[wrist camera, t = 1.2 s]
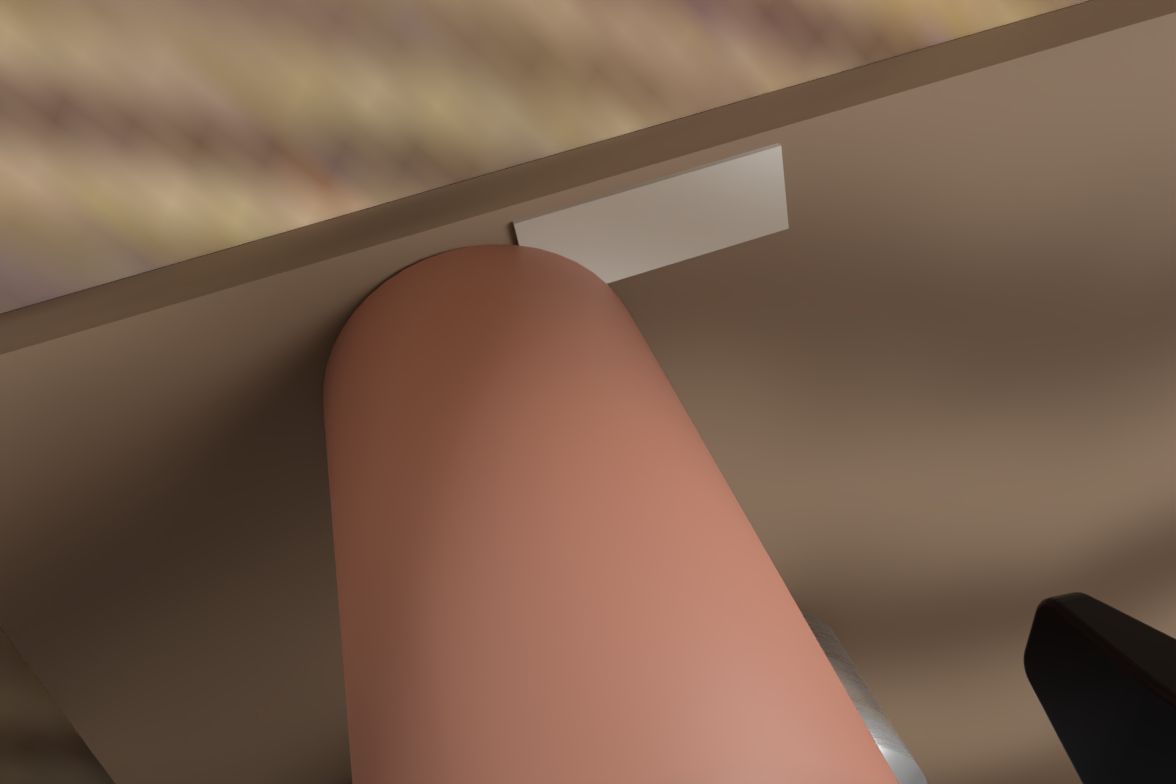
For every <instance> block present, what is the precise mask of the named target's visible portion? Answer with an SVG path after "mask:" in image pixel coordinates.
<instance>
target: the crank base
mask: <svg viewBox="0 0 1176 784" xmlns="http://www.w3.org/2000/svg"><path fill="white" fill-rule="evenodd" d="M491 244H499V245H519V246H526V247H533V248H538V249H542V250H545V251H549V252H553V253H556V254H559V255H561V256H563V257H566V258H568V259H570V260H573V261H575V262H577V263H579V264H580V265H582V266H583V267H585V268H587V269H588V270H590V271H592V272H593V273H594V274H596V275H597V276H598V277H599V278H600V279H602V280H603V281H604V282H605V283H607V284H608V285H609V287H610V288H611V289H612V290H613V291H614V292H615V293H616V294H617V295H618V297H619V298H620V299H621V301H622V302H623V304H624V305H625V307H626V308H627V310H628V311H629V313H630V315H631V316H632V318H633V320H634V322H635V323H636V325H637V327H638V329H639V330H640V332H641V334H642V336H643V337H644V339H645V341H646V343H647V344H648V346H649V348H650V350H651V351H652V353H653V355H654V357H655V358H656V360H657V362H658V364H659V365H660V367H661V369H662V371H663V372H664V374H665V376H666V378H667V379H668V381H669V383H670V385H671V386H672V388H673V390H674V391H675V393H676V395H677V397H678V398H679V400H680V402H681V404H682V405H683V407H684V409H685V411H686V412H687V414H688V416H689V418H690V419H691V421H692V423H693V425H694V426H695V428H696V430H697V432H698V433H699V435H700V437H701V439H702V440H703V442H704V444H705V446H706V447H707V449H708V451H709V453H710V454H711V456H712V458H713V460H714V461H715V463H716V465H717V466H718V468H719V470H720V472H721V473H722V475H723V477H724V479H725V480H726V482H727V484H728V486H729V487H730V489H731V491H732V493H733V494H734V496H735V498H736V500H737V501H738V503H739V505H740V507H741V508H742V510H743V512H744V514H745V515H746V517H747V519H748V521H749V522H750V524H751V526H752V528H753V529H754V531H755V533H756V534H757V536H758V538H759V540H760V541H761V543H762V545H763V547H764V548H765V550H766V552H767V554H768V555H769V557H770V559H771V561H772V562H773V564H774V566H775V568H776V569H777V571H778V573H779V575H780V576H781V578H782V580H783V582H784V583H785V585H786V587H787V589H788V590H789V592H790V594H791V596H792V597H793V599H794V601H795V603H796V604H797V606H798V608H799V609H800V611H802V612H806V613H808V614H811V615H813V616H815V617H817V618H818V619H820V620H821V621H823V622H824V623H826V624H827V625H828V626H829V627H830V628H831V629H832V631H833V632H834V634H835V635H836V637H837V638H838V640H839V641H840V643H841V645H842V646H843V648H844V649H845V651H846V653H847V654H848V656H849V657H850V659H851V660H852V662H853V664H854V665H855V667H856V668H857V670H858V671H859V673H860V675H861V676H862V678H863V679H864V681H865V682H866V684H867V686H868V687H869V689H870V690H871V692H872V694H873V695H874V697H875V698H876V700H877V701H878V703H879V705H880V706H881V708H882V709H883V711H884V712H885V714H886V716H887V717H888V719H889V720H890V722H891V723H892V725H893V727H894V728H895V730H896V731H897V733H898V735H899V736H900V738H901V739H902V741H903V742H904V744H905V746H906V747H907V749H908V750H909V752H910V753H911V755H912V757H913V758H914V760H915V761H916V763H917V765H918V766H919V768H920V769H921V771H922V772H923V774H924V776H925V778H926V781H927V784H1082V782H1081V780H1080V778H1079V776H1078V774H1077V772H1076V770H1075V769H1074V767H1073V765H1072V763H1071V761H1070V759H1069V757H1068V755H1067V753H1066V751H1065V750H1064V748H1063V746H1062V744H1061V742H1060V740H1059V738H1058V736H1057V734H1056V732H1055V731H1054V729H1053V727H1052V725H1051V723H1050V721H1049V719H1048V717H1047V715H1046V713H1045V711H1044V710H1043V708H1042V706H1041V704H1040V702H1039V700H1038V698H1037V696H1036V694H1035V692H1034V691H1033V689H1032V687H1031V685H1030V683H1029V681H1028V678H1027V676H1026V673H1025V669H1024V651H1025V648H1026V644H1027V640H1028V637H1029V633H1030V630H1031V626H1032V622H1033V619H1034V615H1035V612H1036V609H1037V606H1038V605H1039V603H1040V602H1041V601H1042V600H1043V599H1046V598H1049V597H1053V596H1058V595H1062V594H1067V593H1072V592H1081V593H1085V594H1087V595H1090V596H1092V597H1094V598H1096V599H1098V600H1100V601H1102V602H1104V603H1106V604H1108V605H1110V606H1112V607H1114V608H1116V609H1118V610H1120V611H1121V612H1123V613H1125V614H1127V615H1129V616H1131V617H1133V618H1135V619H1137V620H1139V621H1141V622H1143V623H1145V624H1147V625H1149V626H1151V627H1153V628H1155V629H1157V630H1159V631H1161V632H1163V633H1165V634H1167V635H1169V636H1171V637H1173V638H1175V639H1176V0H1091V1H1088V2H1085V3H1081V4H1078V5H1074V6H1071V7H1067V8H1064V9H1060V10H1057V11H1053V12H1050V13H1046V14H1043V15H1039V16H1036V17H1032V18H1029V19H1025V20H1022V21H1018V22H1015V23H1012V24H1008V25H1005V26H1001V27H998V28H994V29H991V30H987V31H984V32H980V33H977V34H973V35H970V36H966V37H963V38H959V39H956V40H952V41H949V42H945V43H942V44H938V45H935V46H932V47H928V48H925V49H921V50H918V51H914V52H911V53H907V54H904V55H900V56H897V57H893V58H890V59H886V60H883V61H879V62H876V63H872V64H869V65H865V66H862V67H859V68H855V69H852V70H848V71H845V72H841V73H838V74H834V75H831V76H827V77H824V78H820V79H817V80H813V81H810V82H806V83H803V84H799V85H796V86H792V87H789V88H785V89H782V90H779V91H775V92H772V93H768V94H765V95H761V96H758V97H754V98H751V99H747V100H744V101H740V102H737V103H733V104H730V105H726V106H723V107H719V108H716V109H712V110H709V111H706V112H702V113H699V114H695V115H692V116H688V117H685V118H681V119H678V120H674V121H671V122H667V123H664V124H660V125H657V126H653V127H650V128H646V129H643V130H639V131H636V132H633V133H629V134H626V135H622V136H619V137H615V138H612V139H608V140H605V141H601V142H598V143H594V144H591V145H587V146H584V147H580V148H577V149H573V150H570V151H566V152H563V153H559V154H556V155H553V156H549V157H546V158H542V159H539V160H535V161H532V162H528V163H525V164H521V165H518V166H514V167H511V168H507V169H504V170H500V171H497V172H493V173H490V174H486V175H483V176H480V177H476V178H473V179H469V180H466V181H462V182H459V183H455V184H452V185H448V186H445V187H441V188H438V189H434V190H431V191H427V192H424V193H420V194H417V195H413V196H410V197H407V198H403V199H400V200H396V201H393V202H389V203H386V204H382V205H379V206H375V207H372V208H368V209H365V210H361V211H358V212H354V213H351V214H347V215H344V216H340V217H337V218H333V219H330V220H327V221H323V222H320V223H316V224H313V225H309V226H306V227H302V228H299V229H295V230H292V231H288V232H285V233H281V234H278V235H274V236H271V237H267V238H264V239H260V240H257V241H254V242H250V243H247V244H243V245H240V246H236V247H233V248H229V249H226V250H222V251H219V252H215V253H212V254H208V255H205V256H201V257H198V258H194V259H191V260H187V261H184V262H181V263H177V264H174V265H170V266H167V267H163V268H160V269H156V270H153V271H149V272H146V273H142V274H139V275H135V276H132V277H128V278H125V279H121V280H118V281H114V282H111V283H107V284H104V285H101V286H97V287H94V288H90V289H87V290H83V291H80V292H76V293H73V294H69V295H66V296H62V297H59V298H55V299H52V300H48V301H45V302H41V303H38V304H34V305H31V306H28V307H24V308H21V309H17V310H14V311H10V312H7V313H3V314H0V628H1V630H2V631H3V632H4V634H5V635H6V636H7V638H8V639H9V640H10V642H11V643H12V645H13V646H14V647H15V649H16V650H17V651H18V653H19V654H20V655H21V657H22V658H23V659H24V661H25V662H26V664H27V665H28V666H29V668H30V669H31V670H32V672H33V673H34V674H35V676H36V677H37V678H38V680H39V681H40V683H41V684H42V685H43V687H44V688H45V689H46V691H47V692H48V693H49V695H50V696H51V697H52V699H53V700H54V702H55V703H56V704H57V706H58V707H59V708H60V710H61V711H62V712H63V714H64V715H65V716H66V718H67V719H68V721H69V722H70V723H71V725H72V726H73V727H74V729H75V730H76V731H77V733H78V734H79V735H80V737H81V738H82V740H83V741H84V742H85V744H86V745H87V746H88V748H89V749H90V750H91V752H92V753H93V754H94V756H95V757H96V759H97V760H98V761H99V763H100V764H101V765H102V767H103V768H104V769H105V771H106V772H107V773H108V775H109V776H110V778H111V779H112V780H113V782H114V783H115V784H352V772H351V759H350V746H349V733H348V720H347V707H346V694H345V681H344V668H343V655H342V643H341V630H340V617H339V604H338V591H337V578H336V565H335V552H334V539H333V526H332V513H331V501H330V488H329V475H328V462H327V449H326V436H325V423H324V410H323V383H324V377H325V371H326V366H327V363H328V360H329V357H330V354H331V350H332V348H333V346H334V344H335V342H336V340H337V338H338V336H339V334H340V332H341V330H342V328H343V327H344V325H345V324H346V322H347V321H348V320H349V318H350V317H351V315H352V314H353V312H354V311H355V310H356V309H357V308H358V307H359V306H360V305H361V304H362V302H363V301H364V300H365V299H366V298H367V297H368V296H369V295H370V294H371V293H373V292H374V291H375V290H376V289H377V288H379V287H380V286H381V285H382V284H383V283H384V282H386V281H387V280H389V279H390V278H392V277H394V276H395V275H397V274H398V273H400V272H401V271H403V270H404V269H406V268H408V267H410V266H412V265H414V264H416V263H419V262H421V261H423V260H425V259H427V258H430V257H433V256H436V255H439V254H442V253H444V252H448V251H452V250H457V249H461V248H466V247H471V246H481V245H491Z"/></svg>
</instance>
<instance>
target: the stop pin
mask: <svg viewBox="0 0 1176 784" xmlns="http://www.w3.org/2000/svg"><path fill="white" fill-rule="evenodd" d="M323 410H324V423H325V436H326V449H327V462H328V475H329V488H330V501H331V513H332V526H333V539H334V552H335V565H336V578H337V591H338V604H339V617H340V630H341V643H342V655H343V668H344V681H345V694H346V707H347V720H348V733H349V746H350V759H351V772H352V784H899V782H898V780H897V779H896V777H895V775H894V773H893V772H892V770H891V768H890V766H889V765H888V763H887V761H886V759H885V758H884V756H883V754H882V753H881V751H880V749H879V747H878V746H877V744H876V742H875V740H874V739H873V737H872V735H871V733H870V732H869V730H868V728H867V726H866V725H865V723H864V721H863V719H862V718H861V716H860V714H859V712H858V711H857V709H856V707H855V705H854V704H853V702H852V700H851V698H850V697H849V695H848V693H847V691H846V690H845V688H844V686H843V684H842V683H841V681H840V679H839V678H838V676H837V674H836V672H835V671H834V669H833V667H832V665H831V664H830V662H829V660H828V658H827V657H826V655H825V653H824V651H823V650H822V648H821V646H820V644H819V643H818V641H817V639H816V637H815V636H814V634H813V632H812V630H811V629H810V627H809V625H808V623H807V622H806V620H805V618H804V616H803V615H802V613H801V611H800V609H799V608H798V606H797V604H796V603H795V601H794V599H793V597H792V596H791V594H790V592H789V590H788V589H787V587H786V585H785V583H784V582H783V580H782V578H781V576H780V575H779V573H778V571H777V569H776V568H775V566H774V564H773V562H772V561H771V559H770V557H769V555H768V554H767V552H766V550H765V548H764V547H763V545H762V543H761V541H760V540H759V538H758V536H757V534H756V533H755V531H754V529H753V528H752V526H751V524H750V522H749V521H748V519H747V517H746V515H745V514H744V512H743V510H742V508H741V507H740V505H739V503H738V501H737V500H736V498H735V496H734V494H733V493H732V491H731V489H730V487H729V486H728V484H727V482H726V480H725V479H724V477H723V475H722V473H721V472H720V470H719V468H718V466H717V465H716V463H715V461H714V460H713V458H712V456H711V454H710V453H709V451H708V449H707V447H706V446H705V444H704V442H703V440H702V439H701V437H700V435H699V433H698V432H697V430H696V428H695V426H694V425H693V423H692V421H691V419H690V418H689V416H688V414H687V412H686V411H685V409H684V407H683V405H682V404H681V402H680V400H679V398H678V397H677V395H676V393H675V391H674V390H673V388H672V386H671V385H670V383H669V381H668V379H667V378H666V376H665V374H664V372H663V371H662V369H661V367H660V365H659V364H658V362H657V360H656V358H655V357H654V355H653V353H652V351H651V350H650V348H649V346H648V344H647V343H646V341H645V339H644V337H643V336H642V334H641V332H640V330H639V329H638V327H637V325H636V323H635V322H634V320H633V318H632V316H631V315H630V313H629V311H628V310H627V308H626V307H625V305H624V304H623V302H622V301H621V299H620V298H619V297H618V295H617V294H616V293H615V292H614V291H613V290H612V289H611V288H610V287H609V285H608V284H607V283H605V282H604V281H603V280H602V279H600V278H599V277H598V276H597V275H596V274H594V273H593V272H592V271H590V270H588V269H587V268H585V267H583V266H582V265H580V264H579V263H577V262H575V261H573V260H570V259H568V258H566V257H563V256H561V255H559V254H556V253H553V252H549V251H545V250H542V249H538V248H533V247H526V246H519V245H499V244H491V245H481V246H471V247H466V248H461V249H457V250H452V251H448V252H444V253H442V254H439V255H436V256H433V257H430V258H427V259H425V260H423V261H421V262H419V263H416V264H414V265H412V266H410V267H408V268H406V269H404V270H403V271H401V272H400V273H398V274H397V275H395V276H394V277H392V278H390V279H389V280H387V281H386V282H384V283H383V284H382V285H381V286H380V287H379V288H377V289H376V290H375V291H374V292H373V293H371V294H370V295H369V296H368V297H367V298H366V299H365V300H364V301H363V302H362V304H361V305H360V306H359V307H358V308H357V309H356V310H355V311H354V312H353V314H352V315H351V317H350V318H349V320H348V321H347V322H346V324H345V325H344V327H343V328H342V330H341V332H340V334H339V336H338V338H337V340H336V342H335V344H334V346H333V348H332V350H331V354H330V357H329V360H328V363H327V366H326V371H325V377H324V383H323Z"/></svg>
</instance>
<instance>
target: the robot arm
mask: <svg viewBox="0 0 1176 784" xmlns="http://www.w3.org/2000/svg"><path fill="white" fill-rule="evenodd" d="M1024 669H1025V673H1026V676H1027V678H1028V681H1029V683H1030V685H1031V687H1032V689H1033V691H1034V692H1035V694H1036V696H1037V698H1038V700H1039V702H1040V704H1041V706H1042V708H1043V710H1044V711H1045V713H1046V715H1047V717H1048V719H1049V721H1050V723H1051V725H1052V727H1053V729H1054V731H1055V732H1056V734H1057V736H1058V738H1059V740H1060V742H1061V744H1062V746H1063V748H1064V750H1065V751H1066V753H1067V755H1068V757H1069V759H1070V761H1071V763H1072V765H1073V767H1074V769H1075V770H1076V772H1077V774H1078V776H1079V778H1080V780H1081V782H1082V784H1176V639H1175V638H1173V637H1171V636H1169V635H1167V634H1165V633H1163V632H1161V631H1159V630H1157V629H1155V628H1153V627H1151V626H1149V625H1147V624H1145V623H1143V622H1141V621H1139V620H1137V619H1135V618H1133V617H1131V616H1129V615H1127V614H1125V613H1123V612H1121V611H1120V610H1118V609H1116V608H1114V607H1112V606H1110V605H1108V604H1106V603H1104V602H1102V601H1100V600H1098V599H1096V598H1094V597H1092V596H1090V595H1087V594H1085V593H1081V592H1072V593H1067V594H1062V595H1058V596H1053V597H1049V598H1046V599H1043V600H1042V601H1041V602H1040V603H1039V605H1038V606H1037V609H1036V612H1035V615H1034V619H1033V622H1032V626H1031V630H1030V633H1029V637H1028V640H1027V644H1026V648H1025V651H1024Z"/></svg>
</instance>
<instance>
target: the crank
mask: <svg viewBox="0 0 1176 784" xmlns="http://www.w3.org/2000/svg"><path fill="white" fill-rule="evenodd" d="M801 613H802V615H803V616H804V618H805V620H806V622H807V623H808V625H809V627H810V629H811V630H812V632H813V634H814V636H815V637H816V639H817V641H818V643H819V644H820V646H821V648H822V650H823V651H824V653H825V655H826V657H827V658H828V660H829V662H830V664H831V665H832V667H833V669H834V671H835V672H836V674H837V676H838V678H839V679H840V681H841V683H842V684H843V686H844V688H845V690H846V691H847V693H848V695H849V697H850V698H851V700H852V702H853V704H854V705H855V707H856V709H857V711H858V712H859V714H860V716H861V718H862V719H863V721H864V723H865V725H866V726H867V728H868V730H869V732H870V733H871V735H872V737H873V739H874V740H875V742H876V744H877V746H878V747H879V749H880V751H881V753H882V754H883V756H884V758H885V759H886V761H887V763H888V765H889V766H890V768H891V770H892V772H893V773H894V775H895V777H896V779H897V780H898V782H899V784H927V781H926V778H925V776H924V774H923V772H922V771H921V769H920V768H919V766H918V765H917V763H916V761H915V760H914V758H913V757H912V755H911V753H910V752H909V750H908V749H907V747H906V746H905V744H904V742H903V741H902V739H901V738H900V736H899V735H898V733H897V731H896V730H895V728H894V727H893V725H892V723H891V722H890V720H889V719H888V717H887V716H886V714H885V712H884V711H883V709H882V708H881V706H880V705H879V703H878V701H877V700H876V698H875V697H874V695H873V694H872V692H871V690H870V689H869V687H868V686H867V684H866V682H865V681H864V679H863V678H862V676H861V675H860V673H859V671H858V670H857V668H856V667H855V665H854V664H853V662H852V660H851V659H850V657H849V656H848V654H847V653H846V651H845V649H844V648H843V646H842V645H841V643H840V641H839V640H838V638H837V637H836V635H835V634H834V632H833V631H832V629H831V628H830V627H829V626H828V625H827V624H826V623H824V622H823V621H821V620H820V619H818V618H817V617H815V616H813V615H811V614H808V613H806V612H802V611H801Z"/></svg>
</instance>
